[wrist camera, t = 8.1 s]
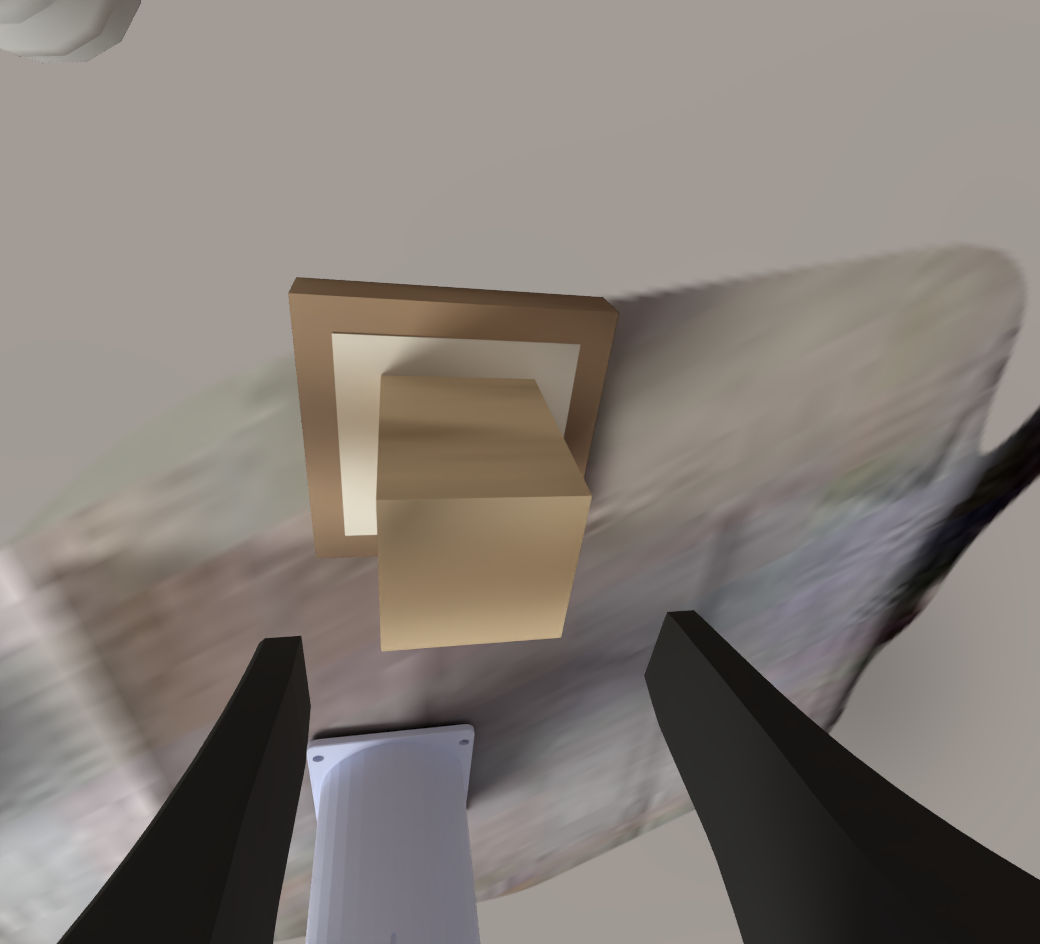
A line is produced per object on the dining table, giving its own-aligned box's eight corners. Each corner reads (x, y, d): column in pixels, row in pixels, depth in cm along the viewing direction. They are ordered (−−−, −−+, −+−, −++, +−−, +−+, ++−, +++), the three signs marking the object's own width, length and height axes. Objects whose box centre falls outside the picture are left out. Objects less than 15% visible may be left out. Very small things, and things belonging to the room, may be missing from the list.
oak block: (518, 499, 19) (561, 637, 15) (383, 502, 18) (381, 651, 14) (534, 379, 17) (592, 495, 12) (380, 375, 16) (376, 500, 11)
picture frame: (559, 523, 22) (569, 549, 21) (320, 530, 21) (316, 559, 19) (603, 297, 18) (619, 313, 16) (296, 277, 16) (288, 293, 14)
